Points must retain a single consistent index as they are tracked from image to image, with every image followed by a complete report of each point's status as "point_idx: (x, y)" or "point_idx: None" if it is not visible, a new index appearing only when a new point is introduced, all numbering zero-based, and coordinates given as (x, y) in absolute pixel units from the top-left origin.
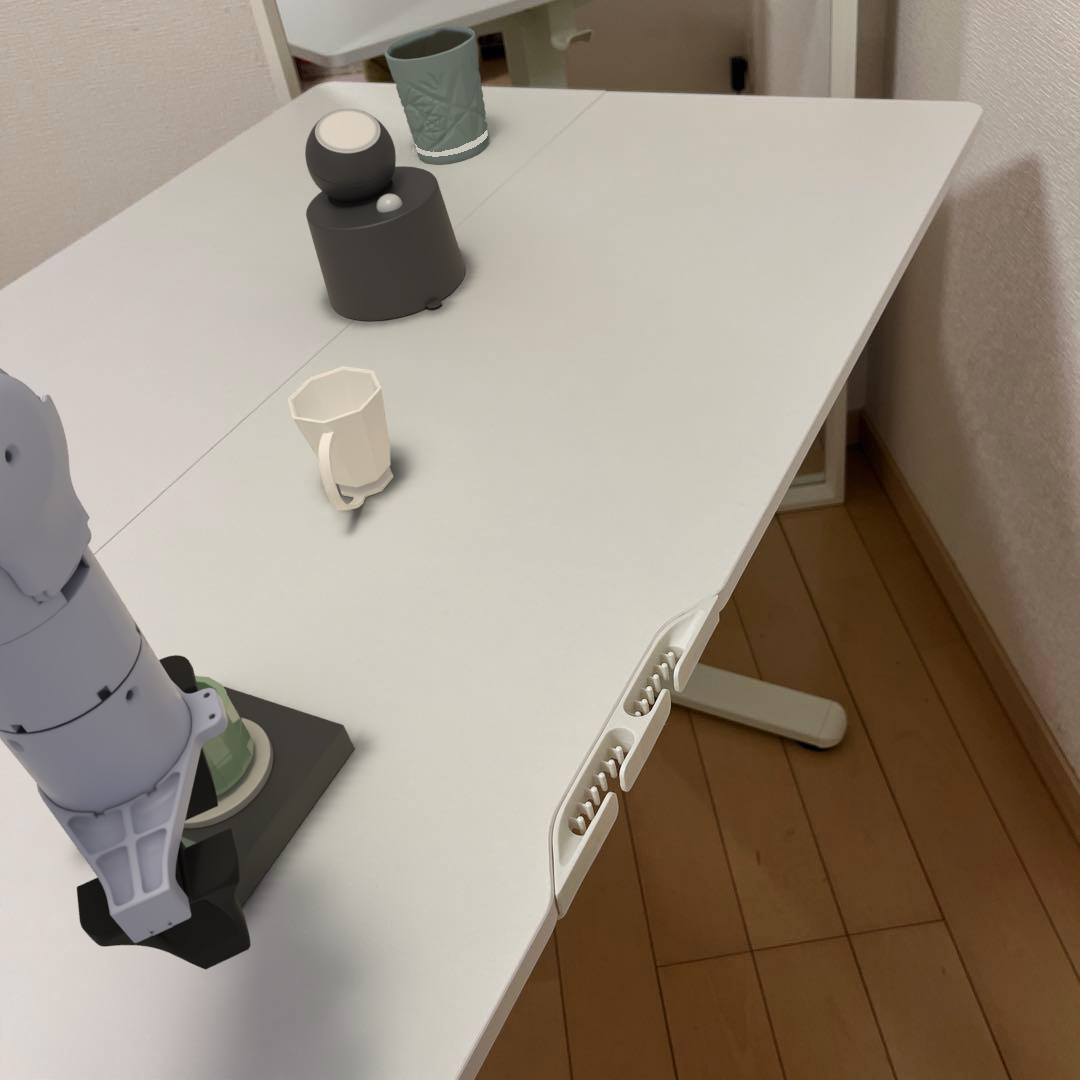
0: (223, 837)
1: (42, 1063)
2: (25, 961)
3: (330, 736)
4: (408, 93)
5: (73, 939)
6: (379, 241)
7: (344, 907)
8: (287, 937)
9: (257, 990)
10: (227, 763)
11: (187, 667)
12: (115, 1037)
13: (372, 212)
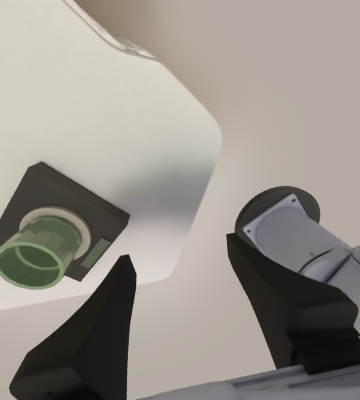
0: (309, 314)
1: (171, 270)
2: None
3: (37, 175)
4: None
5: None
6: None
7: (139, 173)
8: (148, 197)
9: (167, 208)
10: (61, 232)
11: (35, 376)
12: (170, 252)
13: None
